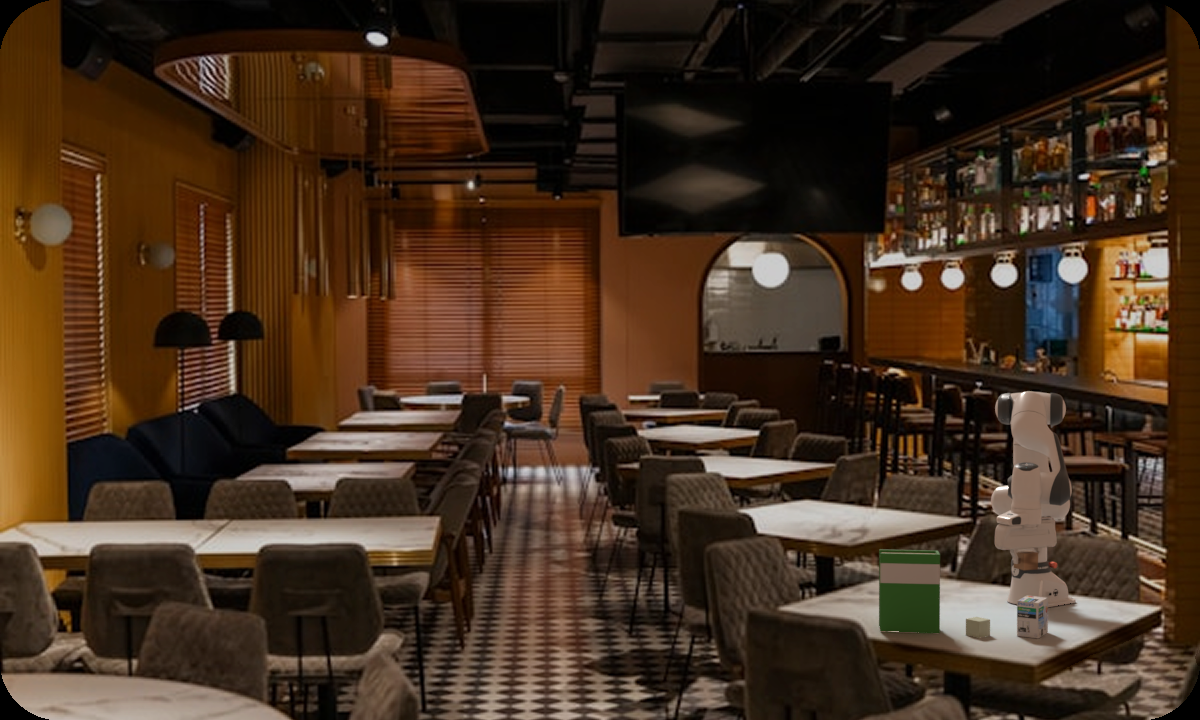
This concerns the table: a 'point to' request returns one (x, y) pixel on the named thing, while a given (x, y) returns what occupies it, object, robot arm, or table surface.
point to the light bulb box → (1032, 616)
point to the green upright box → (909, 591)
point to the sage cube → (977, 627)
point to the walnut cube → (1027, 560)
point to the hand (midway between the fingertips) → (1025, 563)
